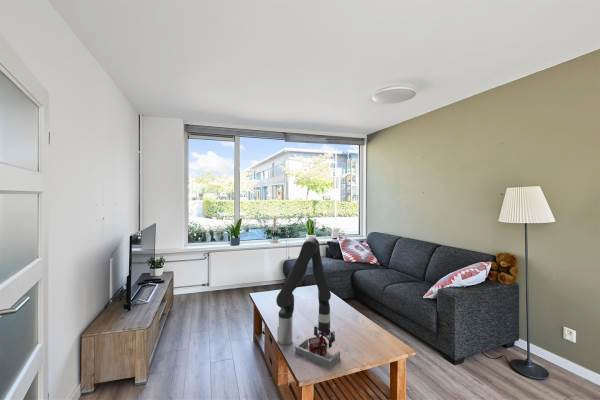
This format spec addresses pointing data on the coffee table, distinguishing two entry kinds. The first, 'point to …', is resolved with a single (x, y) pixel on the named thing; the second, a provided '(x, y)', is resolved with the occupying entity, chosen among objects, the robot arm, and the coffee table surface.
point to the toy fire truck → (318, 345)
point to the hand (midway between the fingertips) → (324, 345)
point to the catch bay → (315, 357)
